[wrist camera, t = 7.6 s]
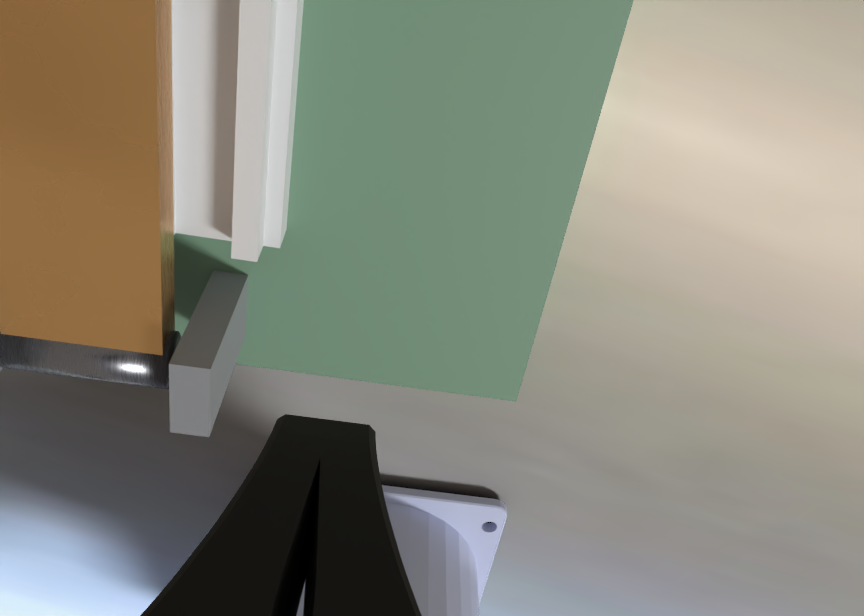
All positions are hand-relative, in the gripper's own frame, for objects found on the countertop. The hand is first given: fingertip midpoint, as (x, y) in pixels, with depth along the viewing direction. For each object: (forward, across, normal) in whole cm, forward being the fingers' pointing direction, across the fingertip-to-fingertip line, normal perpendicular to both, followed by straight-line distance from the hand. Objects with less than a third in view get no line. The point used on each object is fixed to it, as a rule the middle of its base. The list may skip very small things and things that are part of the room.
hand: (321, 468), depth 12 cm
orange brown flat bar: (+7, +6, -2) cm, 10 cm away
